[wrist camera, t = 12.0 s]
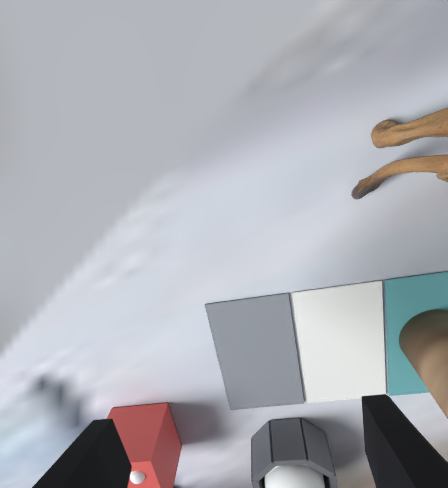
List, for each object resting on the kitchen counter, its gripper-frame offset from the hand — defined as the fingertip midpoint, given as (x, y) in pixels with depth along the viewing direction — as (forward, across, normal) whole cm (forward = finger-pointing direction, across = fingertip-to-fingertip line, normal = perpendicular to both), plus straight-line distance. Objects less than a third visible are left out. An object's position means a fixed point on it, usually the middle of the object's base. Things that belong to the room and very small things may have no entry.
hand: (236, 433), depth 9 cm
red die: (+9, +8, +10) cm, 16 cm away
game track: (+9, -5, +5) cm, 12 cm away
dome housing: (+9, -1, +13) cm, 16 cm away
